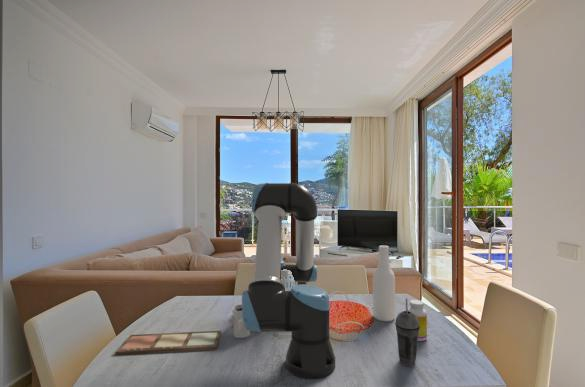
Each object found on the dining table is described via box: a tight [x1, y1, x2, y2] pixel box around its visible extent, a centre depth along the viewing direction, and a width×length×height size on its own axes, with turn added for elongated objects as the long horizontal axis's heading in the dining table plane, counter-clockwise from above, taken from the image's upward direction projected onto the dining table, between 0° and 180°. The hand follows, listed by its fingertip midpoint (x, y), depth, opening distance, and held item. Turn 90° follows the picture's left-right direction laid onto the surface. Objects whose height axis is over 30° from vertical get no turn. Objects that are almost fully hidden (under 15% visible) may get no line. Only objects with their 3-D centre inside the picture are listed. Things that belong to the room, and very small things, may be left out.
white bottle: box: [372, 244, 396, 323], centre depth 129 cm, size 9×9×30 cm
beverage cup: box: [394, 298, 420, 367], centre depth 96 cm, size 7×7×20 cm
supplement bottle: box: [408, 299, 428, 342], centre depth 112 cm, size 7×7×13 cm
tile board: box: [115, 330, 222, 356], centre depth 108 cm, size 12×32×1 cm, turn 96°
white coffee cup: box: [231, 303, 251, 339], centre depth 114 cm, size 7×7×10 cm
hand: (233, 324), depth 109 cm, fingers closed on white coffee cup, 3 cm apart
